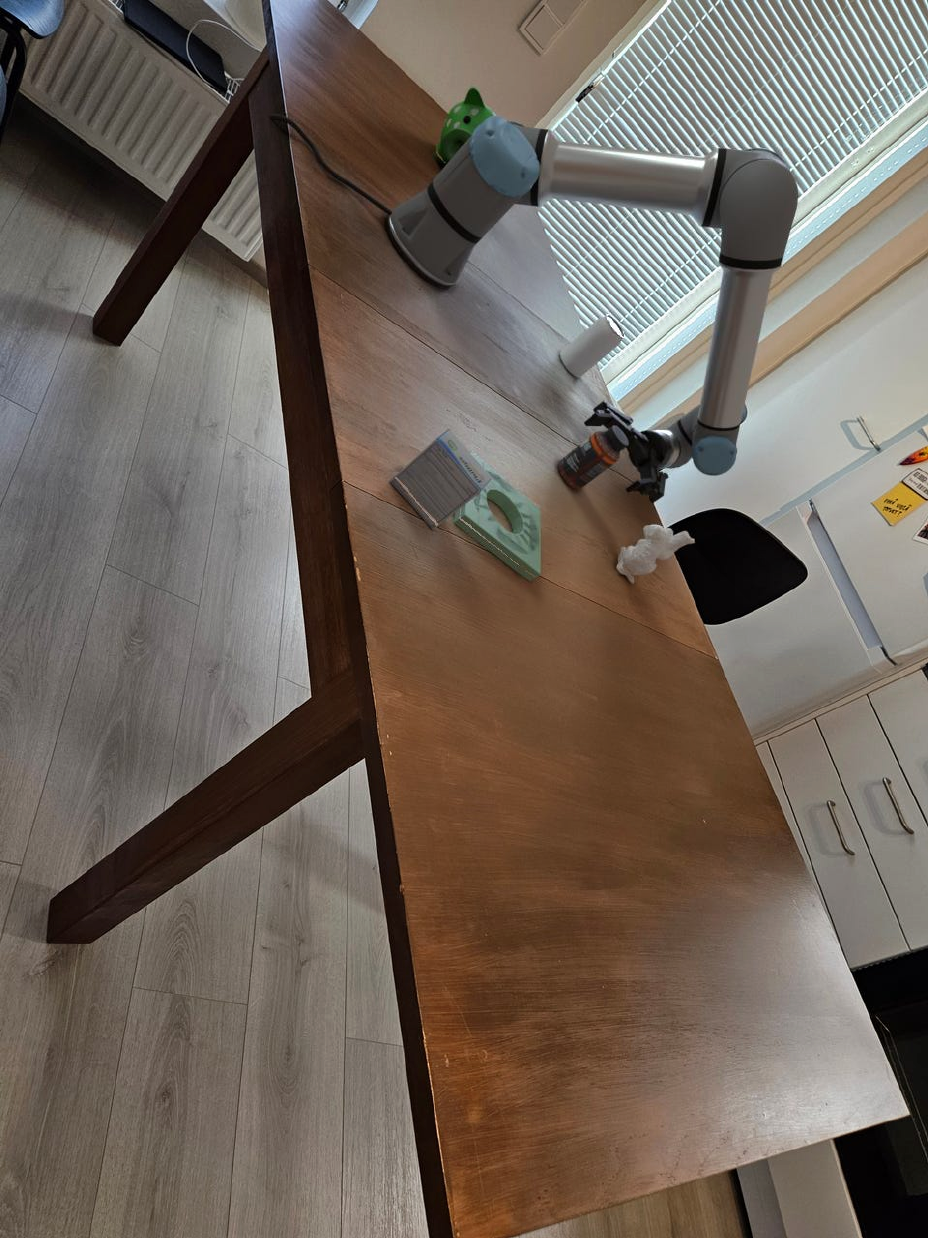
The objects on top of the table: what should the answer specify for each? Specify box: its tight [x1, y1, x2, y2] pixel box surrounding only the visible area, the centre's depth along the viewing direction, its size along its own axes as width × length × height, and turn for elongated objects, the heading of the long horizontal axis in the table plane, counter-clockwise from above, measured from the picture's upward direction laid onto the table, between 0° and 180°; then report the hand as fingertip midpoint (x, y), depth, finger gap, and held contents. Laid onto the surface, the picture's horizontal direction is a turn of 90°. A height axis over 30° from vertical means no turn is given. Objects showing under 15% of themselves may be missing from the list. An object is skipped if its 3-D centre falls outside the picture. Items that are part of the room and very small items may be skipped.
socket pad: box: [453, 450, 542, 583], centre depth 108 cm, size 14×14×2 cm
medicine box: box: [390, 428, 491, 531], centre depth 95 cm, size 8×4×9 cm, turn 65°
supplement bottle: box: [557, 426, 628, 490], centre depth 131 cm, size 6×6×11 cm
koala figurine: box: [616, 524, 696, 584], centre depth 128 cm, size 8×7×12 cm
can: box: [559, 313, 626, 378], centre depth 159 cm, size 6×6×12 cm
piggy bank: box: [433, 86, 498, 165], centre depth 166 cm, size 14×18×15 cm
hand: (611, 452), depth 135 cm, fingers open, 13 cm apart
